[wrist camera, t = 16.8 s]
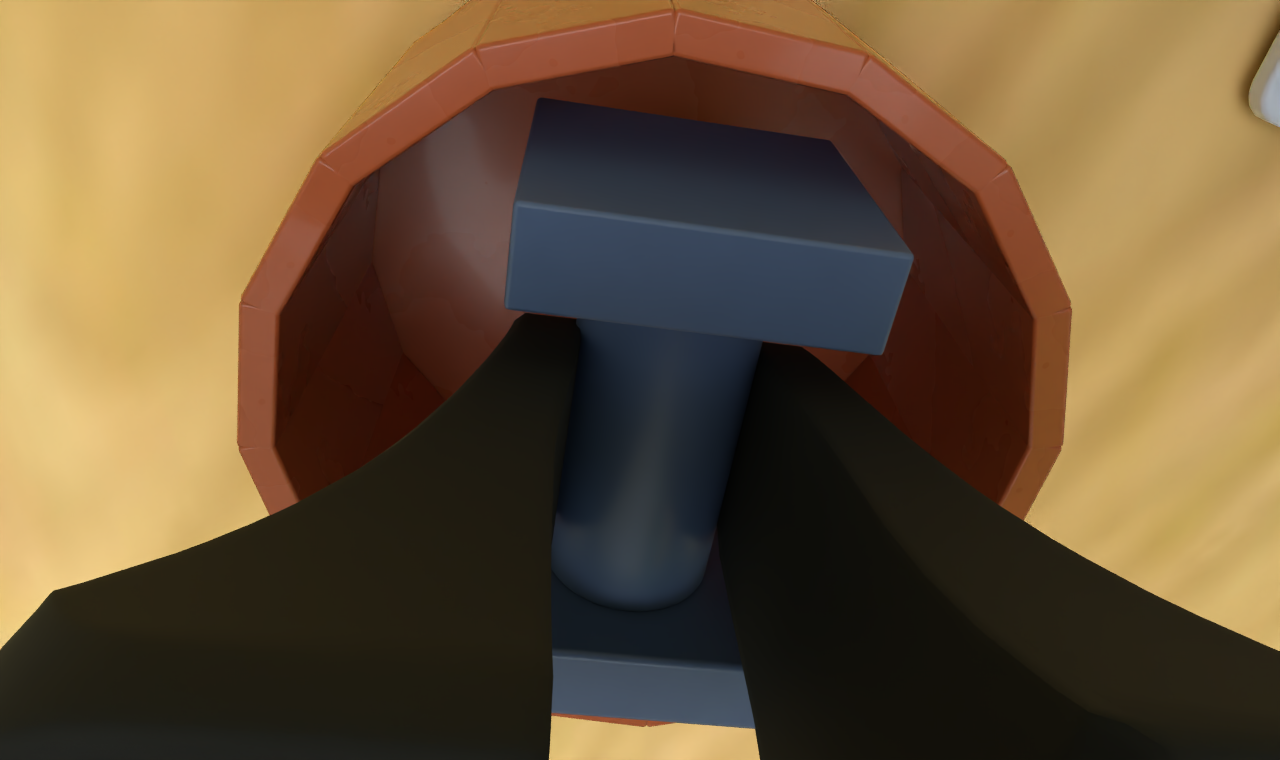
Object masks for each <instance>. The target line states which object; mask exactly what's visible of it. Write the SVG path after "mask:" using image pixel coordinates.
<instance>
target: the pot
mask: <svg viewBox="0 0 1280 760" xmlns="http://www.w3.org/2000/svg"><path fill="white" fill-rule="evenodd" d="M541 97H542V98H549V99H556V100H562V101H569V102H576V103H583V104H589V105H596V106H603V107H609V108H616V109H623V110H630V111H636V112H643V113H650V114H657V115H663V116H670V117H677V118H683V119H690V120H697V121H704V122H710V123H717V124H724V125H730V126H737V127H744V128H751V129H757V130H764V131H771V132H778V133H784V134H791V135H798V136H804V137H811V138H818V139H825V140H830V141H831V142H832V143H833V144H834V146H835V147H836V148H837V150H838V151H839V153H840V154H841V155H842V157H843V158H844V159H845V161H846V162H847V164H848V165H849V166H850V168H851V169H852V171H853V172H854V173H855V175H856V176H857V177H858V179H859V180H860V182H861V183H862V184H863V186H864V187H865V188H866V190H867V191H868V193H869V194H870V195H871V197H872V198H873V200H874V201H875V202H876V204H877V205H878V206H879V208H880V209H881V211H882V212H883V213H884V215H885V216H886V218H887V219H888V220H889V222H890V223H891V224H892V226H893V227H894V229H895V230H896V231H897V233H898V234H899V235H900V237H901V238H902V240H903V241H904V242H905V244H906V245H907V247H908V248H909V249H910V251H911V252H912V253H913V256H914V260H913V263H912V266H911V269H910V272H909V275H908V278H907V281H906V284H905V287H904V290H903V293H902V296H901V300H900V303H899V306H898V309H897V312H896V315H895V318H894V321H893V324H892V327H891V330H890V333H889V337H888V340H887V343H886V346H885V349H884V352H883V354H882V355H871V354H863V353H855V352H847V351H839V350H831V349H823V348H815V347H807V346H800V347H803V348H804V349H805V350H807V351H808V352H810V353H811V354H812V355H814V356H815V357H816V358H818V359H819V360H820V361H821V362H823V363H824V364H825V365H826V366H827V367H828V368H830V369H831V370H832V371H833V372H834V373H835V374H837V375H838V376H839V377H840V378H841V379H842V380H843V381H844V382H846V383H847V384H848V385H849V386H850V387H851V388H852V389H853V390H855V391H856V392H857V393H858V394H859V395H860V396H861V397H863V398H864V399H865V400H866V401H867V402H868V403H869V404H871V405H872V406H873V407H874V408H875V409H876V410H877V411H878V412H880V413H881V414H882V415H883V416H884V417H885V418H887V419H888V420H889V421H890V422H891V423H892V424H894V425H895V426H896V427H897V428H898V429H900V430H901V431H902V432H903V433H904V434H905V435H907V436H908V437H909V438H910V439H912V440H913V441H914V442H915V443H916V444H918V445H919V446H920V447H921V448H923V449H924V450H925V451H926V452H928V453H929V454H930V455H931V456H933V457H934V458H935V459H937V460H938V461H939V462H941V463H942V464H943V465H944V466H946V467H947V468H948V469H950V470H951V471H952V472H954V473H955V474H956V475H958V476H959V477H960V478H962V479H963V480H964V481H966V482H967V483H968V484H970V485H971V486H972V487H974V488H975V489H976V490H978V491H979V492H981V493H982V494H984V495H985V496H986V497H988V498H989V499H991V500H992V501H994V502H995V503H997V504H998V505H1000V506H1001V507H1003V508H1004V509H1006V510H1007V511H1009V512H1011V513H1012V514H1014V515H1015V516H1017V517H1018V518H1020V519H1021V520H1023V521H1024V519H1025V517H1026V515H1027V513H1028V511H1029V509H1030V508H1031V506H1032V504H1033V502H1034V500H1035V498H1036V496H1037V494H1038V493H1039V491H1040V489H1041V487H1042V485H1043V483H1044V481H1045V480H1046V478H1047V476H1048V474H1049V472H1050V470H1051V468H1052V467H1053V465H1054V463H1055V461H1056V459H1057V457H1058V455H1059V454H1060V452H1061V446H1062V445H1063V439H1064V423H1065V408H1066V393H1067V378H1068V362H1069V347H1070V332H1071V316H1072V309H1071V301H1070V299H1069V297H1068V294H1067V292H1066V290H1065V287H1064V285H1063V283H1062V281H1061V278H1060V276H1059V274H1058V272H1057V269H1056V267H1055V265H1054V263H1053V260H1052V258H1051V256H1050V254H1049V251H1048V249H1047V247H1046V245H1045V242H1044V240H1043V238H1042V235H1041V233H1040V231H1039V229H1038V226H1037V224H1036V222H1035V220H1034V217H1033V215H1032V213H1031V211H1030V208H1029V206H1028V204H1027V202H1026V199H1025V197H1024V195H1023V192H1022V190H1021V188H1020V186H1019V183H1018V181H1017V179H1016V177H1015V174H1014V172H1013V170H1012V168H1011V167H1010V166H1009V165H1008V164H1007V162H1006V160H1005V159H1004V158H1003V157H1001V156H1000V155H999V154H998V153H997V152H995V151H994V150H993V149H992V148H991V147H989V146H988V145H987V144H986V143H985V142H983V141H982V140H981V139H980V138H979V137H978V136H976V135H975V134H974V133H973V132H972V131H970V130H969V129H968V128H967V127H966V126H964V125H963V124H962V123H961V122H960V121H958V120H957V119H956V118H955V117H954V116H952V115H951V114H950V113H949V112H948V111H946V110H945V109H944V108H943V107H942V106H940V105H939V104H938V103H937V102H936V101H934V100H933V99H932V98H931V97H930V96H929V95H927V94H926V93H925V92H924V91H923V90H921V89H920V88H919V87H918V86H917V85H915V84H914V83H913V82H912V81H911V80H909V79H908V78H907V77H906V76H905V75H903V74H902V73H901V72H900V71H899V70H897V69H896V68H895V67H894V66H893V65H891V64H890V63H889V62H888V61H887V60H886V59H884V58H883V57H882V56H881V55H880V54H878V53H877V52H876V51H875V50H874V49H872V48H871V47H870V46H869V45H867V44H866V43H865V42H864V41H862V40H861V39H860V38H859V37H857V36H856V35H855V34H853V33H852V32H851V31H850V30H848V29H847V28H846V27H845V26H843V25H842V24H841V23H840V22H838V21H837V20H836V19H835V18H833V17H832V16H831V15H830V14H829V13H827V12H826V11H825V10H824V9H822V8H821V7H820V6H818V5H817V4H816V3H815V2H813V1H812V0H470V1H468V2H467V3H466V4H464V5H463V6H462V7H461V8H460V9H458V10H457V11H456V12H455V13H454V14H452V15H451V16H450V17H449V18H448V19H446V20H445V21H443V22H442V23H441V24H439V25H438V26H437V27H435V28H434V29H432V30H431V31H430V32H428V33H427V34H425V35H424V36H423V37H421V38H420V39H418V40H417V41H416V42H414V43H413V45H412V46H411V47H410V48H409V49H408V50H407V52H406V53H405V54H404V55H403V56H402V57H401V59H400V60H399V61H398V62H397V63H396V65H395V66H394V67H393V68H392V69H391V70H390V72H389V73H388V74H387V75H386V76H385V78H384V79H383V80H382V81H381V82H380V84H379V85H378V86H377V87H376V88H375V89H374V91H373V92H372V93H371V94H370V95H369V97H368V98H367V99H366V100H365V101H364V102H363V104H362V105H361V106H360V107H359V108H358V110H357V111H356V112H355V113H354V114H353V115H352V117H351V118H350V119H349V120H348V121H347V123H346V124H345V125H344V126H343V127H342V128H341V130H340V131H339V132H338V133H337V134H336V136H335V137H334V138H333V139H332V140H331V141H330V143H329V144H328V145H327V146H326V147H325V149H324V150H323V151H322V152H321V153H320V155H319V156H318V157H317V158H316V159H315V161H314V163H313V165H312V167H311V169H310V171H309V172H308V174H307V176H306V178H305V180H304V182H303V183H302V185H301V187H300V189H299V191H298V193H297V194H296V196H295V198H294V200H293V202H292V204H291V205H290V207H289V209H288V211H287V213H286V215H285V216H284V218H283V220H282V222H281V224H280V226H279V227H278V229H277V231H276V233H275V235H274V237H273V238H272V240H271V242H270V244H269V246H268V248H267V250H266V251H265V253H264V255H263V257H262V259H261V261H260V262H259V264H258V266H257V268H256V270H255V272H254V273H253V275H252V277H251V279H250V281H249V283H248V284H247V286H246V288H245V290H244V292H243V294H242V295H241V302H240V303H239V348H238V418H237V444H238V446H239V451H240V454H241V456H242V458H243V460H244V462H245V464H246V466H247V468H248V470H249V473H250V475H251V477H252V479H253V481H254V483H255V485H256V487H257V489H258V491H259V494H260V496H261V498H262V500H263V502H264V504H265V506H266V508H267V510H268V513H269V515H272V514H274V513H276V512H279V511H281V510H283V509H285V508H287V507H289V506H291V505H293V504H295V503H297V502H299V501H301V500H303V499H305V498H306V497H308V496H310V495H312V494H314V493H316V492H317V491H319V490H321V489H323V488H325V487H327V486H328V485H330V484H332V483H334V482H336V481H338V480H339V479H341V478H343V477H345V476H347V475H349V474H350V473H352V472H354V471H356V470H357V469H359V468H361V467H362V466H364V465H365V464H366V463H368V462H369V461H371V460H372V459H374V458H375V457H377V456H378V455H380V454H381V453H382V452H384V451H385V450H387V449H388V448H389V447H391V446H392V445H394V444H395V443H396V442H398V441H399V440H400V439H401V438H403V437H404V436H405V435H407V434H408V433H409V432H410V431H412V430H413V429H414V428H415V427H417V426H418V425H419V424H420V423H421V422H422V421H424V420H425V419H426V418H427V417H428V416H429V415H430V414H431V413H432V412H434V411H435V410H436V409H437V408H438V407H439V406H440V405H441V404H443V403H444V402H445V401H446V400H447V399H448V398H449V397H450V396H452V395H453V394H454V393H455V392H456V391H457V390H458V389H459V388H460V387H461V386H462V385H463V384H464V383H465V381H466V380H467V379H468V378H469V377H470V376H471V375H472V374H473V373H474V372H475V371H476V370H477V369H478V368H479V367H480V365H481V364H482V363H483V362H484V361H485V360H486V359H487V358H488V357H489V355H490V354H491V353H492V352H493V350H494V349H495V348H496V347H497V346H498V344H499V343H500V342H501V340H502V339H503V338H504V336H505V335H506V334H507V332H508V331H509V329H510V328H511V326H512V324H513V322H514V320H516V319H517V318H519V317H520V316H521V315H523V314H524V313H532V312H524V311H516V310H509V309H506V308H505V305H504V298H505V287H506V276H507V266H508V255H509V245H510V234H511V223H512V213H513V203H514V199H515V195H516V190H517V186H518V181H519V177H520V173H521V168H522V164H523V159H524V155H525V151H526V146H527V142H528V138H529V133H530V129H531V124H532V120H533V116H534V111H535V107H536V102H537V100H538V98H541ZM532 314H540V313H532ZM540 315H548V314H540ZM549 316H556V315H549ZM557 317H564V316H557ZM565 318H572V317H565ZM573 319H577V318H573ZM763 342H766V341H763ZM767 343H774V342H767ZM776 344H782V343H776ZM784 345H790V344H784ZM792 346H798V345H792ZM551 716H560V717H568V718H576V719H584V720H592V721H600V722H608V723H617V724H625V725H633V726H641V727H644V726H646V725H647V726H649V727H651V726H658V725H665V724H671V723H675V722H662V721H649V720H636V719H623V718H611V717H598V716H585V715H572V714H559V713H551Z"/></svg>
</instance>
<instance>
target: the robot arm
mask: <svg viewBox="0 0 1280 760" xmlns="http://www.w3.org/2000/svg"><path fill="white" fill-rule="evenodd" d="M1248 94H1249V107H1250V108H1251V110H1252V111H1253V113H1254V115H1255V116H1257V117H1259V118H1261V119H1262V120H1264V121H1266V122H1269V123H1271V124H1273V125H1275V126H1278V127H1280V30H1279V32H1278V34H1277V36H1276V38H1275V40H1274V41H1273V43H1272V45H1271V47H1270V49H1269V51H1268V53H1267V55H1266V56H1265V58H1264V60H1263V62H1262V64H1261V66H1260V68H1259V70H1258V71H1257V73H1256V75H1255V77H1254V79H1253V82H1252V84H1251V87H1250V90H1249V93H1248ZM580 343H581V334H580V328H579V327H578V326H577V325H576V319H573V318H565V317H557V316H549V315H540V314H532V313H524V314H523V315H521V316H520V317H519V318H517V319H516V320H514V322H513V324H512V326H511V328H510V329H509V331H508V332H507V334H506V335H505V336H504V338H503V339H502V340H501V342H500V343H499V344H498V346H497V347H496V348H495V349H494V350H493V352H492V353H491V354H490V355H489V357H488V358H487V359H486V360H485V361H484V362H483V363H482V364H481V365H480V367H479V368H478V369H477V370H476V371H475V372H474V373H473V374H472V375H471V376H470V377H469V378H468V379H467V380H466V381H465V383H464V384H463V385H462V386H461V387H460V388H459V389H458V390H457V391H456V392H455V393H454V394H453V395H452V396H450V397H449V398H448V399H447V400H446V401H445V402H444V403H443V404H441V405H440V406H439V407H438V408H437V409H436V410H435V411H434V412H432V413H431V414H430V415H429V416H428V417H427V418H426V419H425V420H424V421H422V422H421V423H420V424H419V425H418V426H417V427H415V428H414V429H413V430H412V431H410V432H409V433H408V434H407V435H405V436H404V437H403V438H401V439H400V440H399V441H398V442H396V443H395V444H394V445H392V446H391V447H389V448H388V449H387V450H385V451H384V452H382V453H381V454H380V455H378V456H377V457H375V458H374V459H372V460H371V461H369V462H368V463H366V464H365V465H364V466H362V467H361V468H359V469H357V470H356V471H354V472H352V473H350V474H349V475H347V476H345V477H343V478H341V479H339V480H338V481H336V482H334V483H332V484H330V485H328V486H327V487H325V488H323V489H321V490H319V491H317V492H316V493H314V494H312V495H310V496H308V497H306V498H305V499H303V500H301V501H299V502H297V503H295V504H293V505H291V506H289V507H287V508H285V509H283V510H281V511H279V512H276V513H274V514H272V515H270V516H267V517H265V518H263V519H261V520H259V521H256V522H254V523H252V524H250V525H247V526H245V527H242V528H240V529H237V530H235V531H232V532H230V533H227V534H225V535H222V536H220V537H218V538H215V539H213V540H210V541H208V542H205V543H202V544H200V545H197V546H194V547H191V548H189V549H186V550H183V551H181V552H178V553H175V554H172V555H169V556H166V557H162V558H159V559H156V560H153V561H150V562H147V563H144V564H140V565H137V566H134V567H131V568H128V569H125V570H121V571H118V572H115V573H112V574H109V575H106V576H103V577H99V578H96V579H93V580H90V581H87V582H84V583H80V584H77V585H73V586H69V587H66V588H62V589H59V590H55V591H53V592H52V593H51V594H50V595H49V596H48V597H47V598H46V599H45V601H44V602H43V603H42V604H41V605H40V607H39V608H38V609H37V610H36V611H35V612H34V613H33V615H32V616H31V617H30V618H29V619H28V620H27V621H26V622H25V623H24V624H23V625H22V626H21V628H20V629H19V630H18V631H17V632H16V633H15V634H14V635H13V636H12V637H11V638H10V639H9V641H8V642H7V643H6V644H5V645H4V646H3V647H2V648H1V650H0V760H549V750H550V731H551V713H552V694H553V657H552V621H551V545H552V539H553V533H554V526H555V519H556V512H557V504H558V497H559V490H560V483H561V476H562V469H563V462H564V455H565V448H566V441H567V434H568V427H569V420H570V413H571V406H572V399H573V392H574V385H575V378H576V371H577V364H578V357H579V350H580ZM717 531H718V544H719V556H720V561H721V566H722V571H723V576H724V581H725V586H726V591H727V596H728V601H729V606H730V611H731V615H732V620H733V625H734V629H735V634H736V639H737V643H738V648H739V653H740V658H741V662H742V667H743V672H744V676H745V681H746V686H747V690H748V695H749V700H750V704H751V709H752V714H753V719H754V724H755V731H756V737H757V743H758V749H759V755H760V760H1280V651H1277V650H1275V649H1273V648H1270V647H1268V646H1266V645H1263V644H1261V643H1259V642H1257V641H1254V640H1252V639H1250V638H1248V637H1245V636H1243V635H1241V634H1238V633H1236V632H1234V631H1232V630H1229V629H1227V628H1225V627H1223V626H1220V625H1218V624H1216V623H1213V622H1211V621H1209V620H1207V619H1204V618H1202V617H1200V616H1198V615H1196V614H1193V613H1191V612H1189V611H1187V610H1185V609H1183V608H1181V607H1179V606H1177V605H1175V604H1173V603H1171V602H1168V601H1166V600H1164V599H1162V598H1160V597H1158V596H1156V595H1154V594H1152V593H1150V592H1148V591H1146V590H1144V589H1142V588H1140V587H1138V586H1137V585H1135V584H1133V583H1131V582H1129V581H1127V580H1125V579H1123V578H1122V577H1120V576H1118V575H1116V574H1114V573H1112V572H1110V571H1108V570H1106V569H1105V568H1103V567H1101V566H1099V565H1097V564H1095V563H1093V562H1091V561H1090V560H1088V559H1086V558H1084V557H1082V556H1081V555H1079V554H1077V553H1075V552H1074V551H1072V550H1070V549H1068V548H1067V547H1065V546H1063V545H1062V544H1060V543H1058V542H1056V541H1055V540H1053V539H1051V538H1050V537H1048V536H1047V535H1045V534H1043V533H1042V532H1040V531H1039V530H1037V529H1036V528H1034V527H1032V526H1031V525H1029V524H1028V523H1026V522H1025V521H1023V520H1021V519H1020V518H1018V517H1017V516H1015V515H1014V514H1012V513H1011V512H1009V511H1007V510H1006V509H1004V508H1003V507H1001V506H1000V505H998V504H997V503H995V502H994V501H992V500H991V499H989V498H988V497H986V496H985V495H984V494H982V493H981V492H979V491H978V490H976V489H975V488H974V487H972V486H971V485H970V484H968V483H967V482H966V481H964V480H963V479H962V478H960V477H959V476H958V475H956V474H955V473H954V472H952V471H951V470H950V469H948V468H947V467H946V466H944V465H943V464H942V463H941V462H939V461H938V460H937V459H935V458H934V457H933V456H931V455H930V454H929V453H928V452H926V451H925V450H924V449H923V448H921V447H920V446H919V445H918V444H916V443H915V442H914V441H913V440H912V439H910V438H909V437H908V436H907V435H905V434H904V433H903V432H902V431H901V430H900V429H898V428H897V427H896V426H895V425H894V424H892V423H891V422H890V421H889V420H888V419H887V418H885V417H884V416H883V415H882V414H881V413H880V412H878V411H877V410H876V409H875V408H874V407H873V406H872V405H871V404H869V403H868V402H867V401H866V400H865V399H864V398H863V397H861V396H860V395H859V394H858V393H857V392H856V391H855V390H853V389H852V388H851V387H850V386H849V385H848V384H847V383H846V382H844V381H843V380H842V379H841V378H840V377H839V376H838V375H837V374H835V373H834V372H833V371H832V370H831V369H830V368H828V367H827V366H826V365H825V364H824V363H823V362H821V361H820V360H819V359H818V358H816V357H815V356H814V355H812V354H811V353H810V352H808V351H807V350H805V349H804V348H803V347H800V346H792V345H784V344H776V343H767V342H763V343H762V347H761V351H760V355H759V358H758V362H757V366H756V370H755V374H754V378H753V382H752V386H751V390H750V394H749V398H748V402H747V406H746V410H745V414H744V418H743V422H742V426H741V430H740V434H739V438H738V442H737V446H736V450H735V454H734V458H733V462H732V466H731V470H730V474H729V478H728V482H727V486H726V490H725V494H724V498H723V502H722V506H721V510H720V514H719V518H718V522H717Z"/></svg>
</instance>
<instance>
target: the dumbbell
mask: <svg viewBox="0 0 1280 760" xmlns="http://www.w3.org/2000/svg"><path fill="white" fill-rule="evenodd" d="M913 260H914V256H913V253H912V252H911V251H910V249H909V248H908V247H907V245H906V244H905V242H904V241H903V240H902V238H901V237H900V235H899V234H898V233H897V231H896V230H895V229H894V227H893V226H892V224H891V223H890V222H889V220H888V219H887V218H886V216H885V215H884V213H883V212H882V211H881V209H880V208H879V206H878V205H877V204H876V202H875V201H874V200H873V198H872V197H871V195H870V194H869V193H868V191H867V190H866V188H865V187H864V186H863V184H862V183H861V182H860V180H859V179H858V177H857V176H856V175H855V173H854V172H853V171H852V169H851V168H850V166H849V165H848V164H847V162H846V161H845V159H844V158H843V157H842V155H841V154H840V153H839V151H838V150H837V148H836V147H835V146H834V144H833V143H832V142H831V141H830V140H825V139H818V138H811V137H804V136H798V135H791V134H784V133H778V132H771V131H764V130H757V129H751V128H744V127H737V126H730V125H724V124H717V123H710V122H704V121H697V120H690V119H683V118H677V117H670V116H663V115H657V114H650V113H643V112H636V111H630V110H623V109H616V108H609V107H603V106H596V105H589V104H583V103H576V102H569V101H562V100H556V99H549V98H542V97H541V98H538V100H537V102H536V107H535V111H534V116H533V120H532V124H531V129H530V133H529V138H528V142H527V146H526V151H525V155H524V159H523V164H522V168H521V173H520V177H519V181H518V186H517V190H516V195H515V199H514V203H513V213H512V223H511V234H510V245H509V255H508V266H507V276H506V287H505V298H504V305H505V308H506V309H509V310H516V311H524V312H532V313H540V314H548V315H556V316H564V317H572V318H577V319H576V325H577V326H578V327H579V328H580V334H581V343H580V350H579V357H578V364H577V371H576V378H575V385H574V392H573V399H572V406H571V413H570V420H569V427H568V434H567V441H566V448H565V455H564V462H563V469H562V476H561V483H560V490H559V497H558V504H557V512H556V519H555V526H554V533H553V539H552V545H551V621H552V657H553V694H552V713H559V714H572V715H585V716H598V717H611V718H623V719H636V720H649V721H662V722H675V723H688V724H700V725H713V726H726V727H739V728H752V729H755V724H754V719H753V714H752V709H751V704H750V700H749V695H748V690H747V686H746V681H745V676H744V672H743V667H742V662H741V658H740V653H739V648H738V643H737V639H736V634H735V629H734V625H733V620H732V615H731V611H730V606H729V601H728V596H727V591H726V586H725V581H724V576H723V571H722V566H721V561H720V556H719V544H718V531H717V522H718V518H719V514H720V510H721V506H722V502H723V498H724V494H725V490H726V486H727V482H728V478H729V474H730V470H731V466H732V462H733V458H734V454H735V450H736V446H737V442H738V438H739V434H740V430H741V426H742V422H743V418H744V414H745V410H746V406H747V402H748V398H749V394H750V390H751V386H752V382H753V378H754V374H755V370H756V366H757V362H758V358H759V355H760V351H761V347H762V343H763V341H766V342H774V343H782V344H790V345H798V346H807V347H815V348H823V349H831V350H839V351H847V352H855V353H863V354H871V355H882V354H883V352H884V349H885V346H886V343H887V340H888V337H889V333H890V330H891V327H892V324H893V321H894V318H895V315H896V312H897V309H898V306H899V303H900V300H901V296H902V293H903V290H904V287H905V284H906V281H907V278H908V275H909V272H910V269H911V266H912V263H913Z"/></svg>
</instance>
